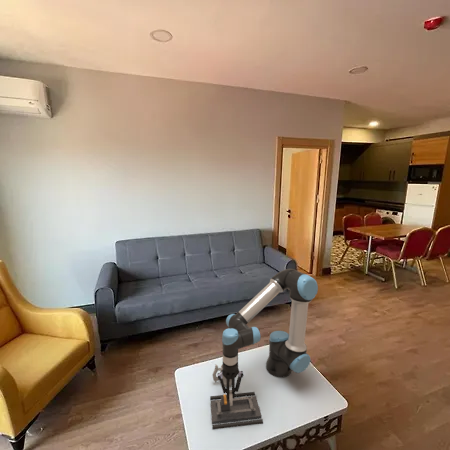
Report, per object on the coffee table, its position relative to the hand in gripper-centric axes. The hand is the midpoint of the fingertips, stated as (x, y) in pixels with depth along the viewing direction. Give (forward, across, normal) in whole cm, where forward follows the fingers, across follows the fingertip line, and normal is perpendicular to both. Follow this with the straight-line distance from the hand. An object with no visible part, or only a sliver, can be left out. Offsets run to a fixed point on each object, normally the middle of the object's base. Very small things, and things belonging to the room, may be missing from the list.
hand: (230, 403), depth 129 cm
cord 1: (+4, -2, -8) cm, 10 cm away
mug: (+5, +2, -19) cm, 20 cm away
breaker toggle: (+3, +3, 0) cm, 4 cm away
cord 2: (+4, -2, +8) cm, 9 cm away
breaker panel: (+4, -2, 0) cm, 5 cm away
